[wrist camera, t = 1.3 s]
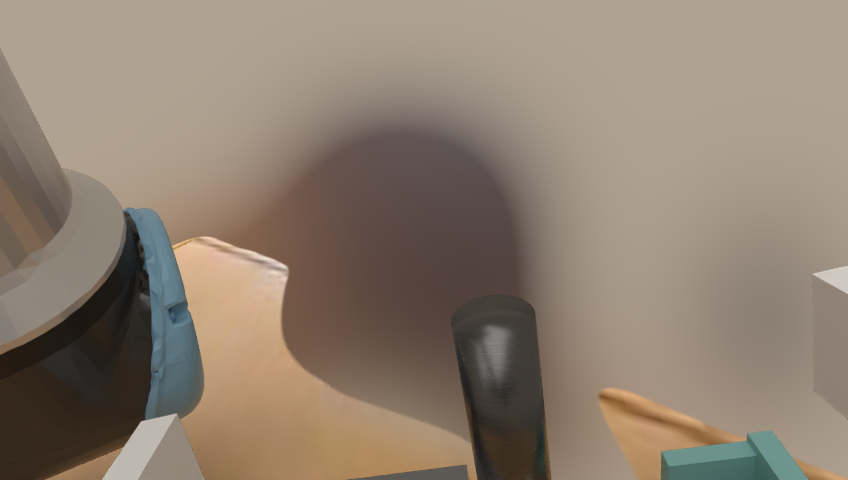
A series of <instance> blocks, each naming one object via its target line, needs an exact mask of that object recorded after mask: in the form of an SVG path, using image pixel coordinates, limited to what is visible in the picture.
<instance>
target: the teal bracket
mask: <svg viewBox="0 0 848 480" xmlns="http://www.w3.org/2000/svg"><path fill="white" fill-rule="evenodd" d="M661 480H808V478H807V477H806V476H805V474H804V473H803V472H802V470H801V469H800V468H799V466H798V465H797V464H796V462H795V461H794V460H793V458H792V457H791V456H790V454H789V453H788V452H787V451H786V449H785V447H784V446H783V445H782V443H781V442H780V441H779V440H778V438H777V437H776V435H775V434H774V433H773V431H772V430H771V431H763V432H756V433H748V434H747V441H741V442H733V443H725V444H717V445H709V446H702V447H694V448H686V449H678V450H670V451H662V454H661Z"/></svg>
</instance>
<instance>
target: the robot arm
mask: <svg viewBox="0 0 848 480" xmlns="http://www.w3.org/2000/svg"><path fill="white" fill-rule="evenodd" d="M187 307H188V303H187V299H186V296H185V290H184V285H183V281H182V278H181V274H180V271H179V268H178V264H177V261H176V258H175V255H174V252H173V249H172V246H171V243H170V240H169V237H168V235H167V232H166V230H165V227H164V225H163V222H162V220H161V219H160V217H159V215H158V214H157V213H156V212H155V211H153V210H152V209H147V208H141V209H134V208H126V209H124V210H123V209H122V207H121V205H120V203H119V202H118V200H117V199H116V198H115V196H114V195H113V194H112V192H111V191H110V190H109V189H108V188H107V187H106V186H105V185H103V184H102V183H100V182H99V181H97V180H96V179H94V178H92V177H89V176H87V175H85V174H82V173H79V172H76V171H73V170H68V169H63V168H61V166H60V164H59V162H58V160H57V159H56V157H55V155H54V153H53V151H52V149H51V147H50V145H49V143H48V141H47V139H46V137H45V135H44V133H43V131H42V129H41V127H40V125H39V123H38V121H37V120H36V118H35V116H34V114H33V112H32V110H31V108H30V106H29V104H28V102H27V100H26V98H25V96H24V94H23V92H22V90H21V88H20V86H19V84H18V82H17V80H16V79H15V77H14V75H13V73H12V71H11V69H10V67H9V65H8V63H7V61H6V59H5V57H4V55H3V53H2V51H1V49H0V480H45V479H47V478H50V477H52V476H55V475H57V474H60V473H62V472H64V471H67V470H69V469H72V468H74V467H76V466H79V465H81V464H84V463H86V462H88V461H91V460H93V459H96V458H98V457H101V456H103V455H105V454H108V453H110V452H113V451H115V450H117V449H120V448H122V447H124V448H123V449H122V451H121V452H120V454H119V455H118V456H117V458H116V459H115V461H114V462H113V464H112V465H111V467H110V468H109V470H108V471H107V473H106V474H105V476H104V477H103V479H102V480H205V479H204V477H203V474H202V472H201V469H200V467H199V465H198V462H197V460H196V457H195V455H194V453H193V450H192V448H191V446H190V443H189V441H188V438H187V436H186V434H185V431H184V429H183V426H182V424H181V422H180V419H181V418H183V417H185V416H187V415H188V414H189V413H191V412H192V411H193V410H194V409H195V408H196V406H197V405H198V403H199V402H200V400H201V397H202V394H203V391H204V373H203V366H202V360H201V355H200V349H199V345H198V340H197V336H196V332H195V328H194V324H193V320H192V317H191V314H190V312H189V311H188V309H187ZM812 311H813V312H812V313H813V372H814V391H815V392H816V393H817V394H818V395H819V396H821V397H822V398H823V399H824V400H826V401H827V402H828V403H829V404H830V405H831V406H833V407H834V408H835V409H836V410H837V411H839V412H840V413H841V414H842V415H843V416H844V417H846V418H847V419H848V266H845V267H841V268H836V269H832V270H827V271H823V272H818V273H813V274H812Z"/></svg>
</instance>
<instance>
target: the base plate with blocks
mask: <svg viewBox="0 0 848 480" xmlns="http://www.w3.org/2000/svg"><path fill="white" fill-rule="evenodd" d="M349 480H469V477H468V471H467V466H466V465H460V466H452V467H444V468H436V469H428V470H420V471H412V472H405V473H397V474H389V475H381V476H373V477H365V478H357V479H349Z"/></svg>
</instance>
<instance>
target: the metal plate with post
mask: <svg viewBox="0 0 848 480" xmlns="http://www.w3.org/2000/svg"><path fill="white" fill-rule="evenodd" d="M451 324H452V331H453V337H454V343H455V349H456V355H457V360H458V367H459V372H460V378H461V384H462V390H463V396H464V402H465V407H466V413H467V420H468V426H469V431H470V437H471V443H472V449H473V455H474V461H475V467H476V473H477V479H478V480H551V472H550V461H549V452H548V440H547V430H546V420H545V411H544V399H543V389H542V378H541V368H540V358H539V349H538V338H537V327H536V317H535V311H534V309H533V307H532V306H531V305H530V304H529V303H528V302H526V301H525V300H523V299H520V298H518V297H514V296H509V295H489V296H483V297H479V298H476V299H473V300H471V301H468V302H467V303H465V304H463V305H462V306H460V307H459V308H458V309H457V310H456V311H455V312H454V314H453V316H452V319H451Z"/></svg>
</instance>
